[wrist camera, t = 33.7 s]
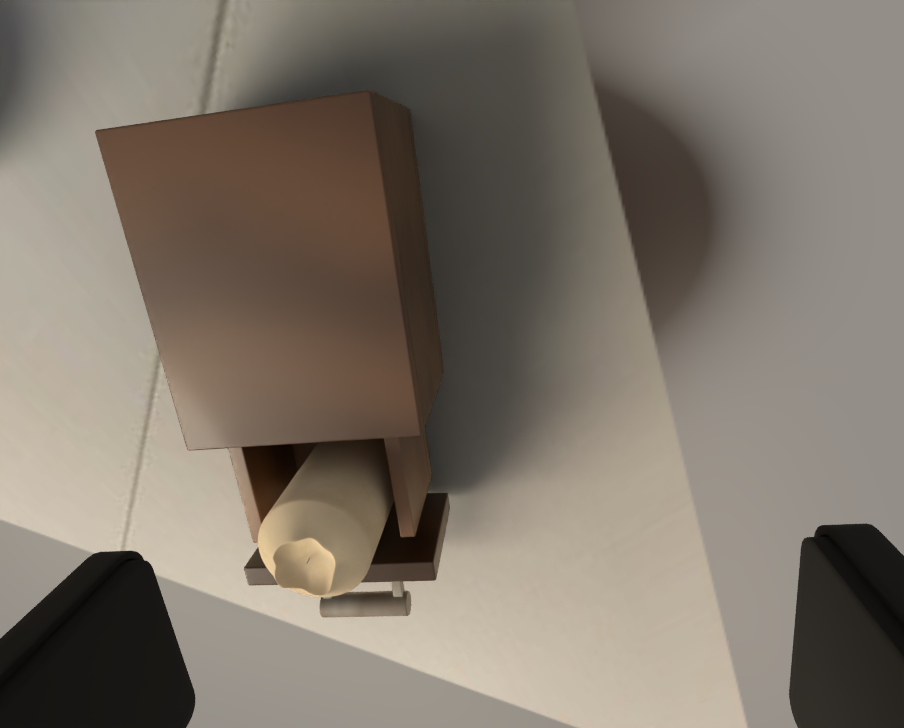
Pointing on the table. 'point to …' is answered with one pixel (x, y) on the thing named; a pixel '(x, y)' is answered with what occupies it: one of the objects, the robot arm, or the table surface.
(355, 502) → the candle
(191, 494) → the table surface
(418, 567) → the drawer
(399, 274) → the cabinet
